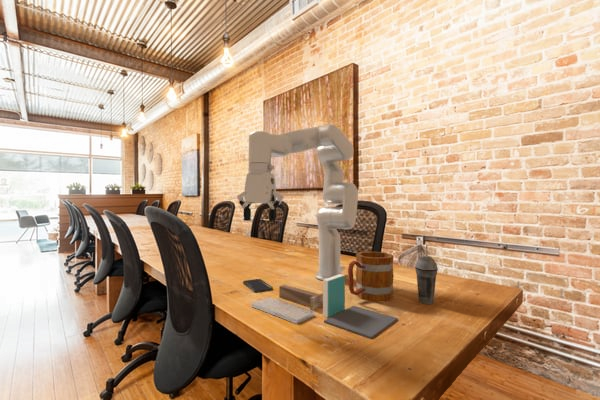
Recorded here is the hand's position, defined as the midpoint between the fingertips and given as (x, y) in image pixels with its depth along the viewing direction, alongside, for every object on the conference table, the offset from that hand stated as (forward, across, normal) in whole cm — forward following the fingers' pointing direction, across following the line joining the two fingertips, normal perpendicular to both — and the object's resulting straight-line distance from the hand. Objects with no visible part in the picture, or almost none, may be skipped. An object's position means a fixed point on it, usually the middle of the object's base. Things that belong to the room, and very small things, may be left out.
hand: (259, 220), depth 100 cm
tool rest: (+28, -10, +2) cm, 30 cm away
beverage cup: (+28, -51, -26) cm, 64 cm away
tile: (+28, -25, -4) cm, 38 cm away
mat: (+28, -34, -1) cm, 44 cm away
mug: (+28, -32, -22) cm, 48 cm away
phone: (+28, +12, -17) cm, 35 cm away
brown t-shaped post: (+28, -12, -8) cm, 31 cm away
